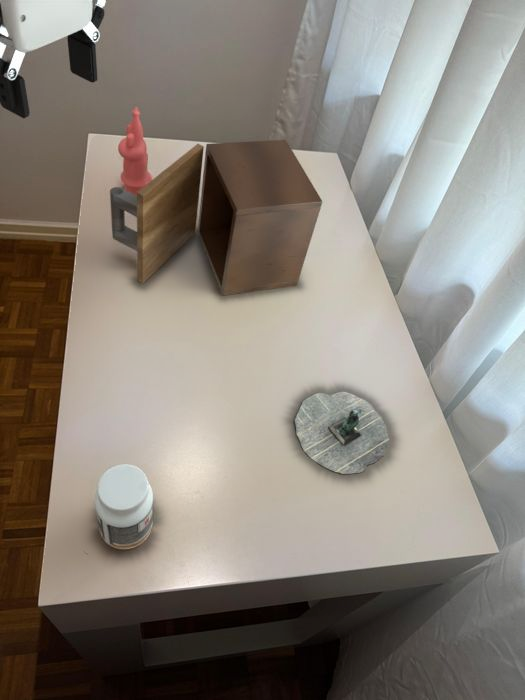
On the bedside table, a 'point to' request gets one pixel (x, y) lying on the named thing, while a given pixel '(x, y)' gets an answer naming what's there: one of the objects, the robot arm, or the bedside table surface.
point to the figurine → (134, 157)
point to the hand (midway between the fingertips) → (51, 93)
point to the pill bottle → (124, 506)
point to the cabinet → (256, 215)
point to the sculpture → (341, 432)
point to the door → (160, 213)
